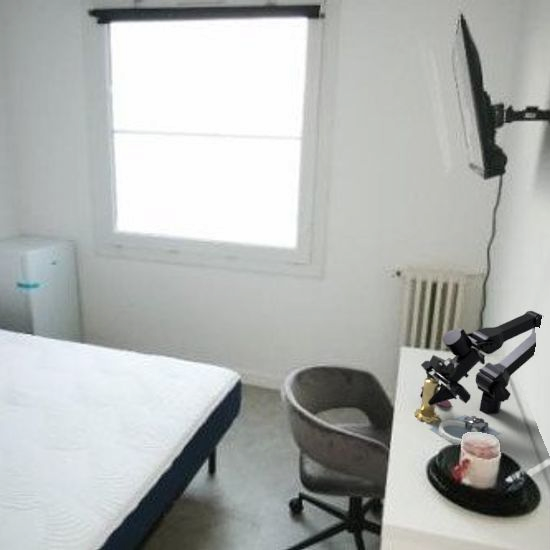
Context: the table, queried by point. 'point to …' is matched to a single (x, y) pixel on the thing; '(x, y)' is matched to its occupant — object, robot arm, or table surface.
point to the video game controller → (443, 403)
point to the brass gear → (427, 410)
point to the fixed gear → (476, 423)
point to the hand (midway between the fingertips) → (424, 400)
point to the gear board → (456, 430)
